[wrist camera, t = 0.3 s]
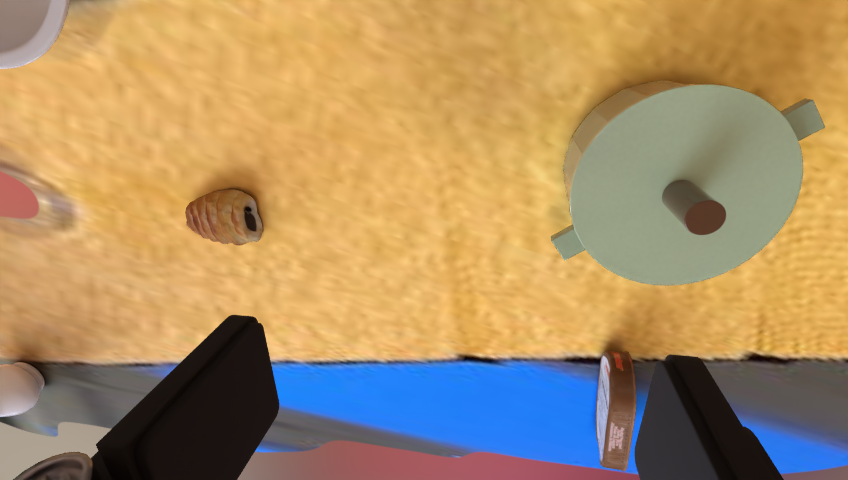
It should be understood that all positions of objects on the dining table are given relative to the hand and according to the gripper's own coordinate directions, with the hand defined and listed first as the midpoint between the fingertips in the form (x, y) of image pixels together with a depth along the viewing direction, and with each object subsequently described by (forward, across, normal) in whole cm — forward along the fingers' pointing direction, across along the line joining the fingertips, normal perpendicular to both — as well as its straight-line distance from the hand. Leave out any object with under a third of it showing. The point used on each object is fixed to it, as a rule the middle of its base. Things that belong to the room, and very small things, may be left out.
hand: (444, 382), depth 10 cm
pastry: (+37, +31, +11) cm, 50 cm away
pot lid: (+28, -15, +4) cm, 32 cm away
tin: (+37, -15, +32) cm, 51 cm away
